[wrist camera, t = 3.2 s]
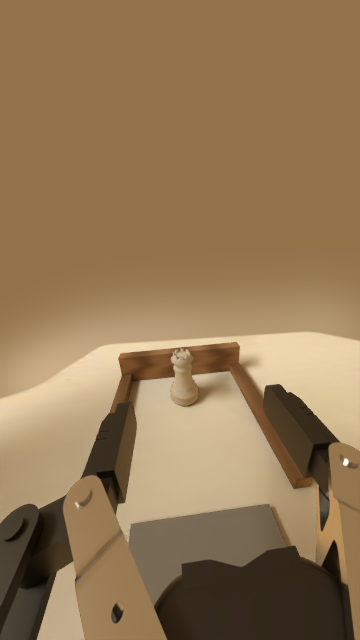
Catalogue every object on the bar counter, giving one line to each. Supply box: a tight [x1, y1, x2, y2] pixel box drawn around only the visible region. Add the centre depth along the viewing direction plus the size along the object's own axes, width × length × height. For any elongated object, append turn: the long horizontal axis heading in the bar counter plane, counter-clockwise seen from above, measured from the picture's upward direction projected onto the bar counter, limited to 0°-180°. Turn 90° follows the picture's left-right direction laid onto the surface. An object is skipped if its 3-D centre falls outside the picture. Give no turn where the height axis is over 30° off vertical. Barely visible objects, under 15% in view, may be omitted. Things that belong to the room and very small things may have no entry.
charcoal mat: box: [129, 504, 287, 607], centre depth 11 cm, size 12×10×1 cm
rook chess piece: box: [170, 348, 199, 406], centre depth 27 cm, size 4×4×8 cm
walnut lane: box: [110, 342, 313, 488], centre depth 25 cm, size 21×20×5 cm
